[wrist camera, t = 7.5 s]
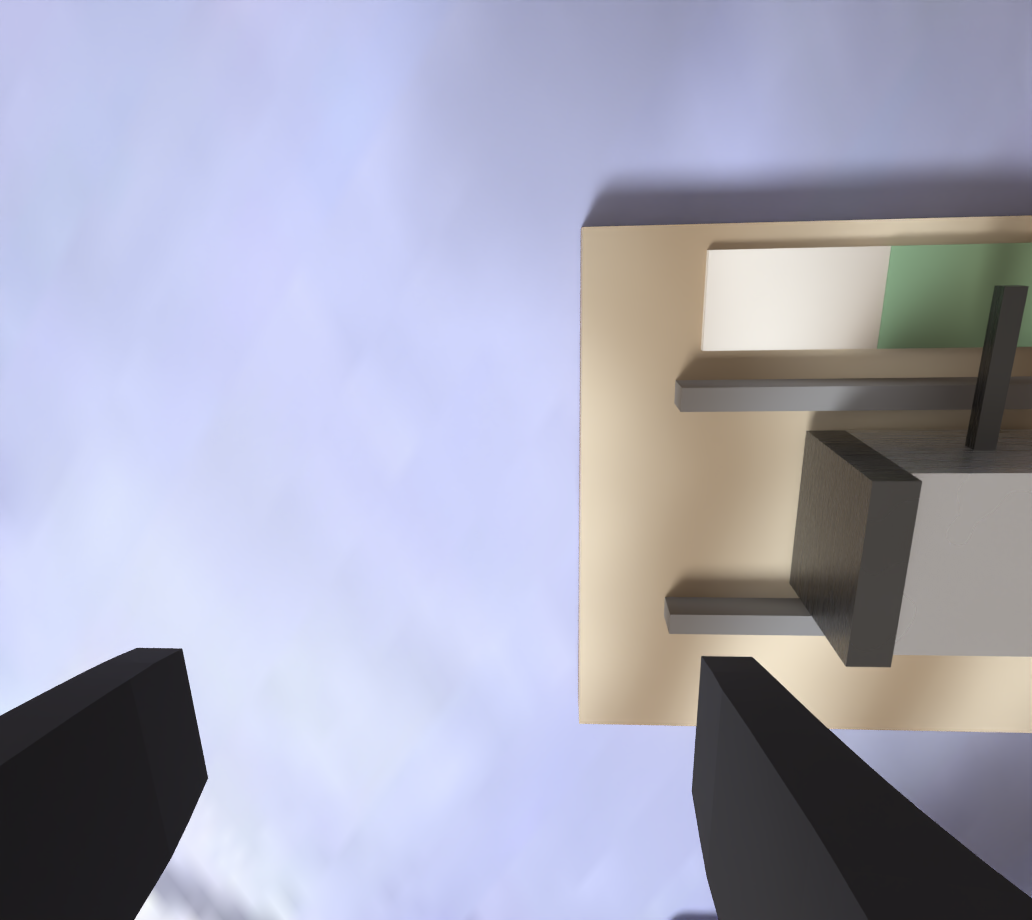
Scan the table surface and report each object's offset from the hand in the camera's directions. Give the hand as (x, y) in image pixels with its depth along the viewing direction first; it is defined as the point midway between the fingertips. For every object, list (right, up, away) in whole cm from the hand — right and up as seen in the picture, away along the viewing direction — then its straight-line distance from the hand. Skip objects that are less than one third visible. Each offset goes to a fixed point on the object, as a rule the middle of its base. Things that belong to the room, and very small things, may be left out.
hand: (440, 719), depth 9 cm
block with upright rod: (+10, +4, +6) cm, 12 cm away
